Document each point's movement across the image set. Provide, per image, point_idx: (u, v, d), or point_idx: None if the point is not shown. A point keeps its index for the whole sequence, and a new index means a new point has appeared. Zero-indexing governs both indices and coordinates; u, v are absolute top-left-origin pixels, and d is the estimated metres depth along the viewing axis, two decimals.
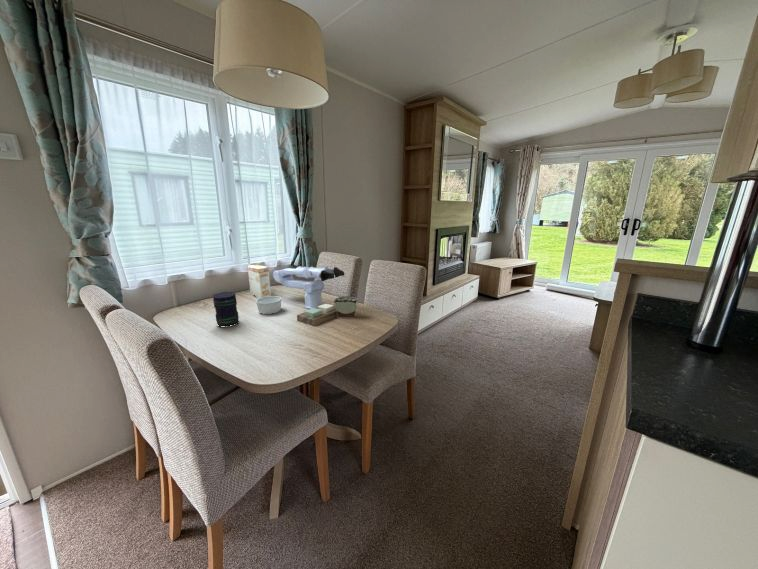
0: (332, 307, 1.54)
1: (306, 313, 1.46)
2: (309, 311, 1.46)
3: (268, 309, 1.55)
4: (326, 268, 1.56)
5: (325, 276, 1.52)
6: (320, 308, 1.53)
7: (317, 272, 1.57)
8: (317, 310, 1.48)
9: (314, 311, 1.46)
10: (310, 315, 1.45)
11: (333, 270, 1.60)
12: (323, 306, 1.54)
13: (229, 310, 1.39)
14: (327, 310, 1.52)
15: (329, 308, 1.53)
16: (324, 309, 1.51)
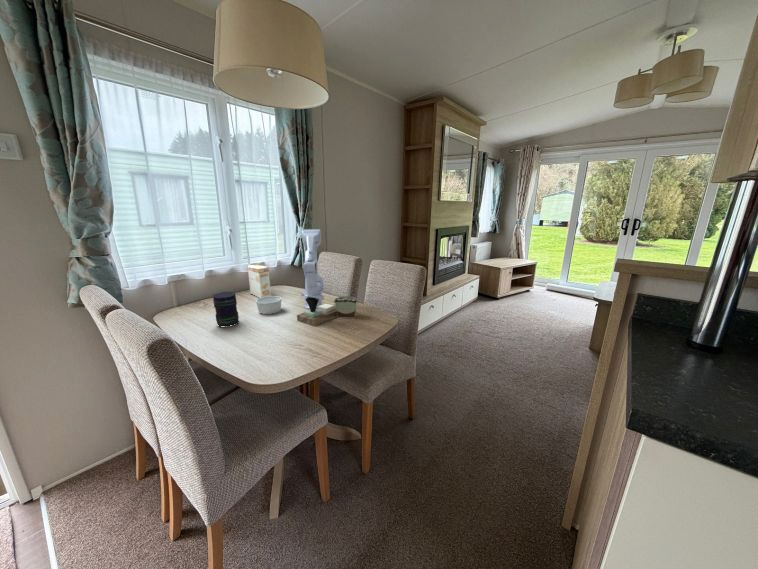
0: (332, 307, 1.54)
1: (306, 314, 1.46)
2: (309, 312, 1.46)
3: (268, 309, 1.55)
4: None
5: None
6: (320, 308, 1.53)
7: None
8: (317, 311, 1.48)
9: (314, 312, 1.46)
10: (310, 316, 1.45)
11: (317, 297, 1.42)
12: (323, 306, 1.54)
13: (229, 310, 1.39)
14: (327, 310, 1.52)
15: (329, 308, 1.53)
16: (324, 309, 1.51)
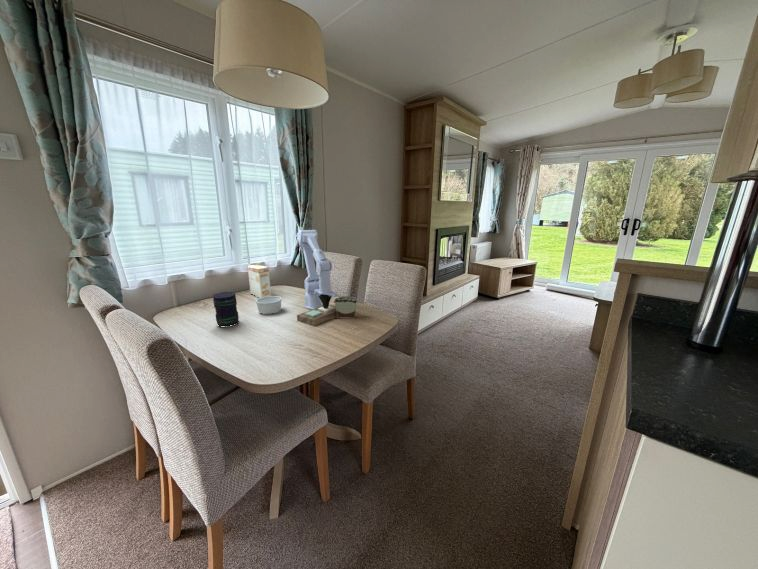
0: (332, 309, 1.55)
1: (306, 315, 1.46)
2: (309, 313, 1.47)
3: (268, 309, 1.55)
4: None
5: None
6: (320, 310, 1.53)
7: None
8: (317, 312, 1.48)
9: (314, 313, 1.46)
10: None
11: (330, 294, 1.49)
12: (323, 308, 1.54)
13: (229, 310, 1.39)
14: None
15: (329, 310, 1.53)
16: (324, 311, 1.51)
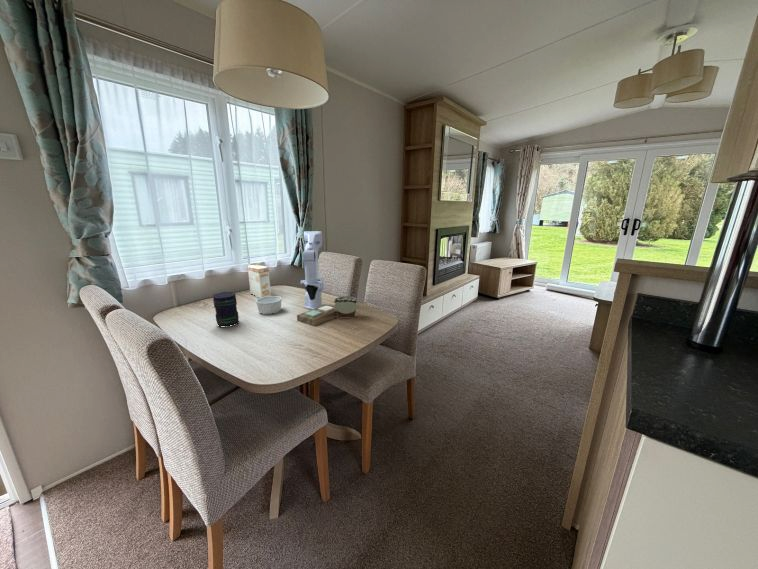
0: (332, 309, 1.55)
1: (306, 315, 1.46)
2: (309, 313, 1.47)
3: (268, 309, 1.55)
4: (306, 284, 1.47)
5: None
6: (320, 310, 1.53)
7: None
8: (317, 312, 1.48)
9: (314, 313, 1.46)
10: None
11: None
12: (323, 308, 1.54)
13: (229, 310, 1.39)
14: None
15: (329, 310, 1.53)
16: (324, 311, 1.51)
